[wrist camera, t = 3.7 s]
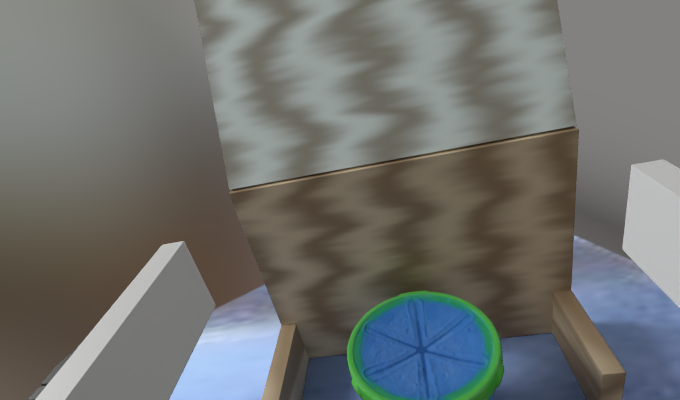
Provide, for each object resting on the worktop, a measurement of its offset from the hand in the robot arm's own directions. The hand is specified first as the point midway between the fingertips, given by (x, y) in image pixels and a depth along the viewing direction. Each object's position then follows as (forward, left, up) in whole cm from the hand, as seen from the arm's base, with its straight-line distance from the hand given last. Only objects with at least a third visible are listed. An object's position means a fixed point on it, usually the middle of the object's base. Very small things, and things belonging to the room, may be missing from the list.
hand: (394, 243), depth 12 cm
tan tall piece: (0, +20, -25) cm, 32 cm away
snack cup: (0, +10, -25) cm, 27 cm away
